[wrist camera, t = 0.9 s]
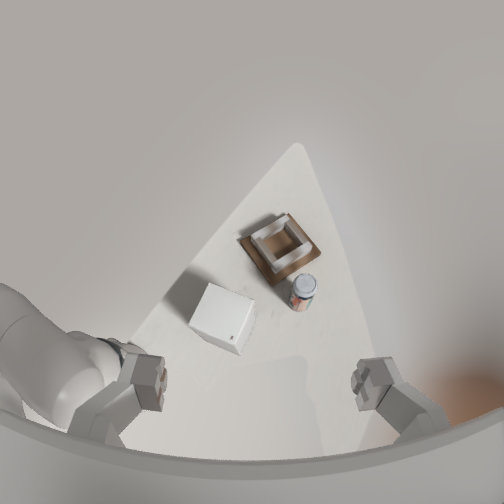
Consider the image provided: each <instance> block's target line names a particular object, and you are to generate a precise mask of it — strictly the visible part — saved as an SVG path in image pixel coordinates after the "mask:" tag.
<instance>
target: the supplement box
mask: <svg viewBox="0 0 504 504" xmlns="http://www.w3.org/2000/svg"><path fill="white" fill-rule="evenodd" d="M255 323H256V314H255V306H254V300H253V299H250V298H248V297H245V296H243V295H240V294H238V293H235V292H233V291H230V290H228V289H225V288H223V287H220V286H218V285H215V284H212V283H210V282H209V284H208V286H207V288H206V290H205V292H204V294H203V296H202V298H201V300H200V302H199V304H198V306H197V308H196V310H195V312H194V314H193V316H192V317H191V319H190V321H189V323H188V326H189V327H190V328H191V329H192V330H194V331H195V332H196V333H197V334H198V335H199V336H200V337H202V338H203V339H204V340H205V341H207V342H209V343H211V344H214V345H216V346H218V347H220V348H223V349H225V350H227V351H230V352H232V353H234V354H237V355H239V356H241V355H242V353H243V351H244V348H245V346H246V344H247V341H248V339H249V337H250V335H251V332H252V330H253V328H254V325H255Z"/></svg>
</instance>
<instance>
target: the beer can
mask: <svg viewBox="0 0 504 504" xmlns="http://www.w3.org/2000/svg"><path fill="white" fill-rule="evenodd" d="M317 289H318V283H317V280H316V279H315V278H314V277H313V276H312V275H309V274H300V275H298V276H297V277H296V278H295V279H294V282H293V285H292V289H291V292H290V296H289V306H290V307H291V308H292V309H293V310H294V311H297V312H302V311H305V310H306V309H307V308H308V307H309V305H310V303H311V301H312V299H313V297H314V295H315V293H316V292H317Z"/></svg>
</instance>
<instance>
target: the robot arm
mask: <svg viewBox="0 0 504 504" xmlns="http://www.w3.org/2000/svg"><path fill="white" fill-rule="evenodd" d="M164 365H165V360H164V357H161V356H154V355H147V354H146V353H145V352H144V351H143V350H142V349H141V348H139V347H137V346H135V345H132V344H124V343H121V342H119V341H118V340H116V339H114V338H108V339H103V338H94V337H92V336H90V335H87V334H85V333H82V332H79V331H72V332H69V333H65V332H64V331H62V330H61V329H60V328H59V327H57V326H56V325H55V324H54V323H53V322H51V321H50V320H49V319H48V318H47V317H45V316H44V315H43V314H42V313H41V312H40V311H39V310H38V309H37V308H36V307H35V306H34V305H32V304H31V302H30V301H28V299H27V298H26V297H25V296H23V295H22V294H20V293H19V292H17V291H15V290H14V289H12V288H10V287H8V286H7V285H5V284H2V283H0V504H504V407H501V408H498V409H496V410H493V411H491V412H489V413H487V414H485V415H482V416H480V417H477V418H475V419H472V420H470V421H467V422H464V423H462V424H459V425H456V426H454V427H451V425H450V423H449V421H448V418H447V416H446V414H445V412H444V410H443V408H442V407H441V406H440V405H438V404H437V403H435V402H434V401H432V400H431V399H430V398H428V397H427V396H425V395H424V394H423V393H421V392H420V391H418V390H417V389H416V388H414V387H413V386H411V385H410V384H409V383H404V381H403V379H402V377H401V375H400V372H399V370H398V368H397V366H396V364H395V362H394V360H393V358H392V357H382V358H370V359H360V360H359V361H358V363H357V368H358V369H357V370H355V371H354V372H353V374H352V377H351V388H352V391H353V392H354V393H355V394H356V395H357V397H356V399H355V400H356V403H357V406H358V409H359V411H366V410H374V409H376V411H377V412H378V413H379V414H380V415H381V416H382V417H384V419H385V420H386V421H387V422H388V423H389V424H390V425H391V426H392V427H393V428H394V429H395V430H396V431H397V432H398V433H400V436H399V437H398V438H397V439H396V440H395V442H394V443H393V444H392V445H387V446H383V447H378V448H374V449H368V450H363V451H357V452H351V453H345V454H338V455H330V456H322V457H314V458H302V459H287V460H261V461H239V460H212V459H198V458H187V457H177V456H169V455H162V454H154V453H149V452H142V451H137V450H132V449H127V448H126V447H125V446H124V444H123V442H122V441H121V439H120V437H119V436H118V435H119V434H120V433H121V432H122V431H123V430H124V429H125V428H126V427H127V426H128V425H129V424H130V423H131V422H132V421H133V420H134V419H135V417H137V416H138V414H139V413H141V412H145V411H147V410H151V411H159V412H162V407H163V403H164V396H163V393H164V392H165V391H166V387H167V370H166V369H165V368H164ZM22 399H23V400H24V402H25V403H26V404H27V405H28V406H29V407H30V408H31V409H33V410H34V411H35V412H36V413H38V414H39V415H41V416H42V417H43V418H45V419H46V420H48V421H50V422H51V423H52V424H54V425H56V426H57V427H59V428H62V429H68V431H67V433H64V432H61V431H58V430H55V429H52V428H50V427H47V426H44V425H41V424H39V423H36V422H33V421H31V420H28V419H26V416H25V413H24V410H23V406H22Z"/></svg>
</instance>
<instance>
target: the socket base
mask: <svg viewBox="0 0 504 504" xmlns="http://www.w3.org/2000/svg"><path fill="white" fill-rule="evenodd" d="M241 244H242V246H243V247H244V249H245V250H246V251H247V253H248V254H249V256H250V257H251V258H252V260H253V261H254V263H255V264H256V265H257V267H258V268H259V270H260V271H261V272H262V274H263V275H264V277H265V278H266V279H267V281H268V282H269V284H270V285H271V286H273V285H274V284H276V283H278V282H279V281H281V280H282V279H284V278H286V277H287V276H289V275H290V274H292V273H293V272H295V271H296V270H298V269H300V268H301V267H303V266H304V265H306V264H307V263H309V262H310V261H312V260H313V259H315V258H317V257H318V256H320V254H321V252H320V250H319V249H318V248H317V247H316V245H315V244H314V243H313V242H312V241H311V239H310V238H309V237H308V236H307V234H306V233H305V232H304V231H303V230H302V228H301V227H300V226H299V225H298V224H297V222H296V221H295V220H294V219H293V218H292V216H291V215H290V214H289V213H288V214H286V215H285V216H283V217H281V218H279V219H278V220H276V221H274V222H272V223H271V224H269V225H267V226H265V227H264V228H262V229H260V230H258V231H257V232H255V233H253V234H251V235H250V236H248V237H246V238H244V239H243V240H241Z"/></svg>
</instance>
